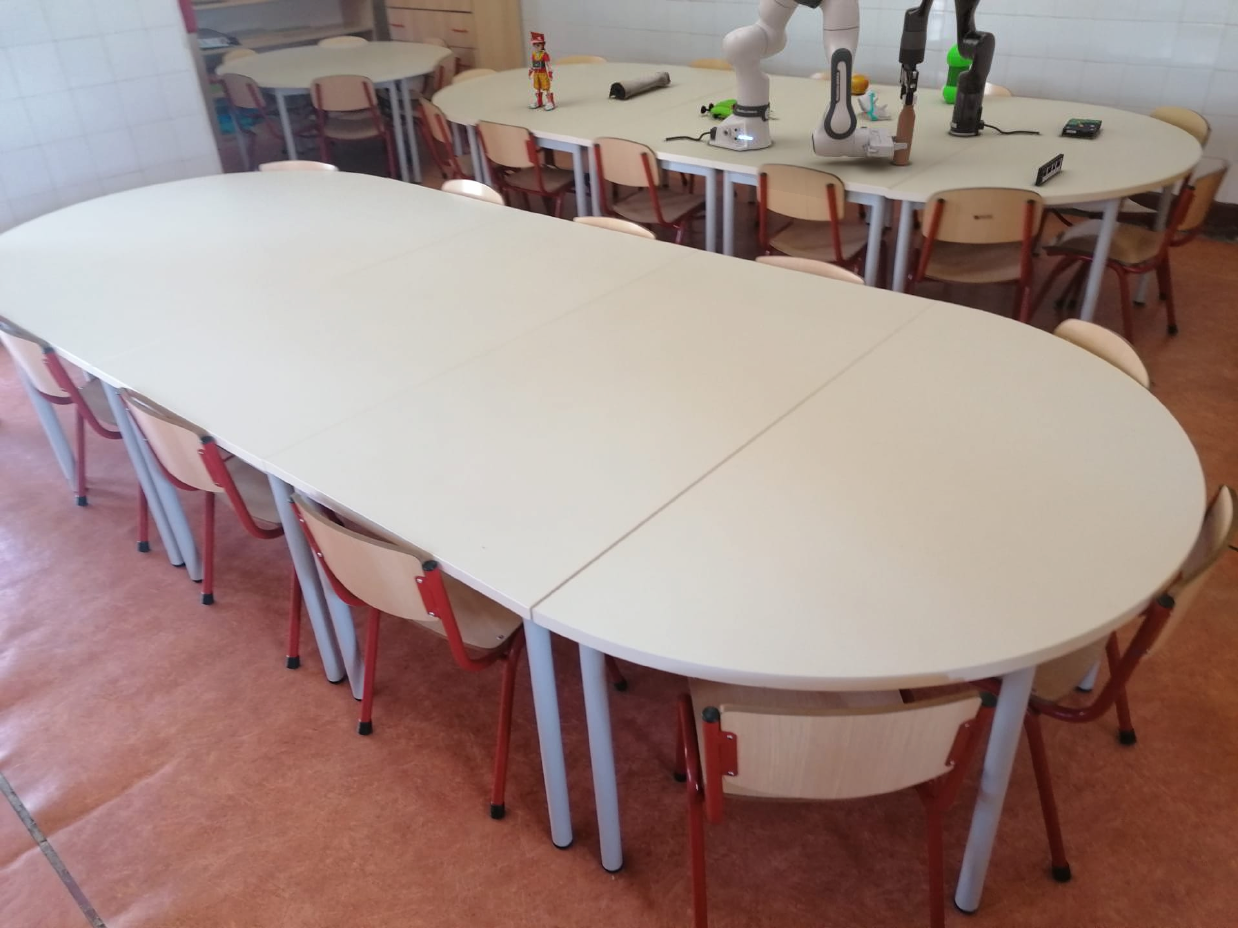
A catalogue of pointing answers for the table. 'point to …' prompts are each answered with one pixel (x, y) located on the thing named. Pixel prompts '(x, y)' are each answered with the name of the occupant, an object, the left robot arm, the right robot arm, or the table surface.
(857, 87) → the fruit
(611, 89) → the rolled mat
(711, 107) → the toy
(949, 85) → the green dumbbell
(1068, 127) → the disk drive
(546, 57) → the toy
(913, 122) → the bottle
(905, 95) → the cap
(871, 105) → the anatomical model
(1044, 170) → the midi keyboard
